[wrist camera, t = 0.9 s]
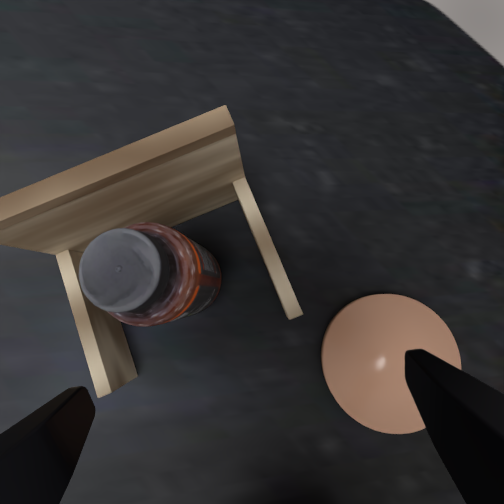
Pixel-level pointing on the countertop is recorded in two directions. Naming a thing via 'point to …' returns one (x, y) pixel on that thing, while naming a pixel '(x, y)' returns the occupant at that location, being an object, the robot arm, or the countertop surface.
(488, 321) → the countertop surface
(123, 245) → the supplement bottle
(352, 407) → the peach rounded disc
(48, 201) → the wooden bench
